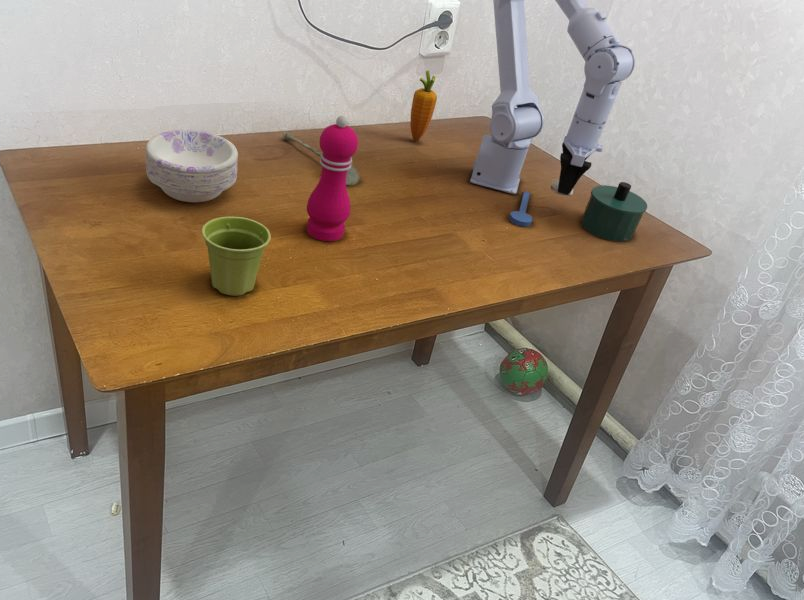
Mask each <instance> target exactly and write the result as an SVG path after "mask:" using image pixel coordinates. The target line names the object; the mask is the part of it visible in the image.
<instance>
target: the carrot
mask: <svg viewBox="0 0 804 600" xmlns="http://www.w3.org/2000/svg"><path fill="white" fill-rule="evenodd" d="M436 77H437V76H436V75H432V78H431V74H430V70H426V71H425V78H426V80H425V79H424V78H423V77H420V78H419V81H420V82H421V83H422V85H423V87H421V88H418V89H416V90H415V91H414V92H413V97H412V103H411V109H410V123H409V125H410V134H411V137H412V140H413V142H414V143H417V142H419V140H420V139H421V138H422V137H423V136H424V134H425V133H426V131H427V129H428V128H429V125H430V123H431V121H432V118H433V115H434V112H435V108H436V105H437V100H438V95H437V94H436V92H435V91H434V90H432V87H433V86H434V85H435V80H436Z"/></svg>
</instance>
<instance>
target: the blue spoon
mask: <svg viewBox="0 0 804 600" xmlns="http://www.w3.org/2000/svg"><path fill="white" fill-rule="evenodd" d="M530 195H531V192H530V191H525V190H523V193H522V196H521V197H522V198H521V201H520V206H519V209H518V210H514V211H511V212H510V214H509V217H508V220H509V221H510V222H511V224H513V225H516V226H518V227H530V226H531V225H532V222H533V217H532V216H531V215H530V214H529V213H527V209H528V204H529V198H530Z"/></svg>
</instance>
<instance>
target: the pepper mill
mask: <svg viewBox="0 0 804 600" xmlns="http://www.w3.org/2000/svg"><path fill="white" fill-rule="evenodd" d="M348 124H349V120H348V118H347V116H345V115H339V116H338V117H337V118H336V121H335V123H333V124H330V125H328V126H326V127H325V128H324V129H323V130H322V132H321V133H320V136H319V140H318V141H319V143H318V144H319V148H320V150H321V151H322V152H321V153H322V154H321V157H320V159H319V164H320V165H321V173H320V177H319V181H318V182H317V184H316V186H315V187H314V189H313V190H312V192H311V193H310V195H309V197H308V198H307V199H308V200H307V203H306V213H307V215H308V217H309V218H308V219H307V224H306V232H307V234H308V235H309V236H310V237H311V238H313V239H316V240H318V241H322V242H336V241H338V240H340V239H342V238H343V237H344V233H345V228H346V227H345V226H346V224H345V222H346V221H348V219H349V218H350V215H351V207H352V206H351V200H350V196H349V193H348V188H347V185H346V175H347V171H348V170H349V169H350V168H351V165H352V163H353V158H352V157H353V156H354V155H355V154H356V152H357V151H358V148H359V137H358V135H357V133H356V131H355V130H354V129H353V128H352V127H350V126H349V125H348Z"/></svg>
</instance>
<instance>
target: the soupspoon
mask: <svg viewBox="0 0 804 600" xmlns="http://www.w3.org/2000/svg"><path fill="white" fill-rule="evenodd" d="M282 137H283V140H284V141H289V140H290V141H292V142H295V143H297V144H299V145H301V146H302V147H304V148H305V149H306V150H309V151H310V152H312V153H313V154H315V155H317V156H318V157H320V158H321V154H322V153H323V152H320V151H318V150H317V149H316V148H314V147H312V146H311V145H308V144H306V143H305V142H304V141H301V140H300V139H298V138H297V137H296V136H293V135H292V134H291V132H290V131H285V132H284V133H283V135H282ZM360 177H361V176H360V173H359V172H358V170H357V168H356V167H355V166H354V165H353V164H351V168H350V169H349V170H348V171H347V175H346V186H355V185H357V184H358V183H359V182H360Z"/></svg>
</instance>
